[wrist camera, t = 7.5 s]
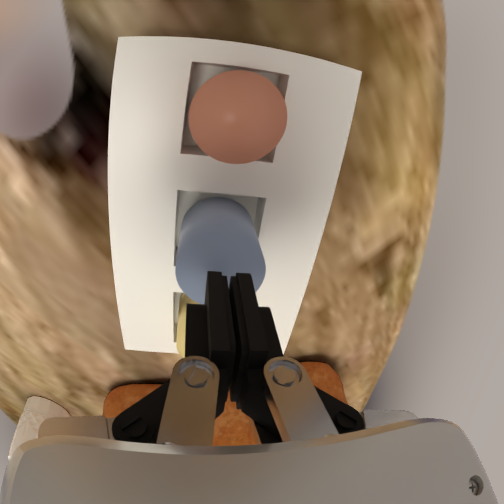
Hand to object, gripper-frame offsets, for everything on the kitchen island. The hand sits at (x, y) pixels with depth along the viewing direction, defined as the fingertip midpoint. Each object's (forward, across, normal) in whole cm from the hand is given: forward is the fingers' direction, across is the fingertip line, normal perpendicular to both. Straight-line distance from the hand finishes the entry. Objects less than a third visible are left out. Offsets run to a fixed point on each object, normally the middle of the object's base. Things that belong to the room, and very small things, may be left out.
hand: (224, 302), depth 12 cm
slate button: (+6, 0, 0) cm, 6 cm away
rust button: (+7, 0, -7) cm, 10 cm away
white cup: (+9, +21, +30) cm, 38 cm away
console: (+9, 0, 0) cm, 9 cm away
